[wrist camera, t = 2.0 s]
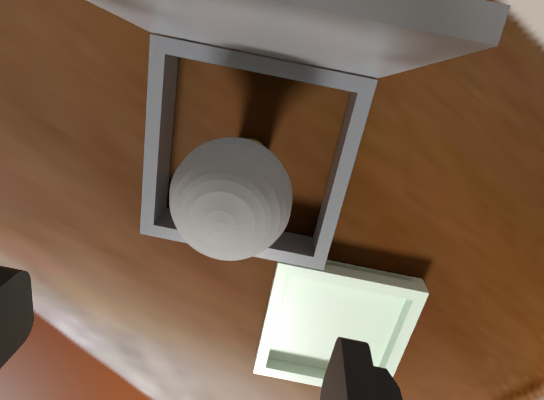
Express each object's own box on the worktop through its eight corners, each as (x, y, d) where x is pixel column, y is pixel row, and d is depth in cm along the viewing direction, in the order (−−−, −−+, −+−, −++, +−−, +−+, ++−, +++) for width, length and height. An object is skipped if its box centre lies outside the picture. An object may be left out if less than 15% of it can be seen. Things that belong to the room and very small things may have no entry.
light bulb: (297, 108, 23) (291, 161, 14) (294, 194, 25) (288, 288, 16) (205, 106, 23) (141, 158, 14) (211, 191, 26) (159, 282, 17)
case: (154, 215, 27) (139, 233, 24) (166, 33, 22) (150, 33, 20) (321, 249, 27) (323, 270, 24) (370, 74, 22) (377, 80, 20)
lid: (-41, -64, 8) (-41, -141, 8) (149, 31, 20) (152, 1, 19) (497, 45, 8) (521, -27, 8) (378, 78, 20) (386, 48, 19)
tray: (255, 357, 31) (253, 373, 30) (279, 250, 27) (278, 263, 26) (379, 381, 31) (383, 399, 30) (422, 278, 27) (428, 293, 26)
